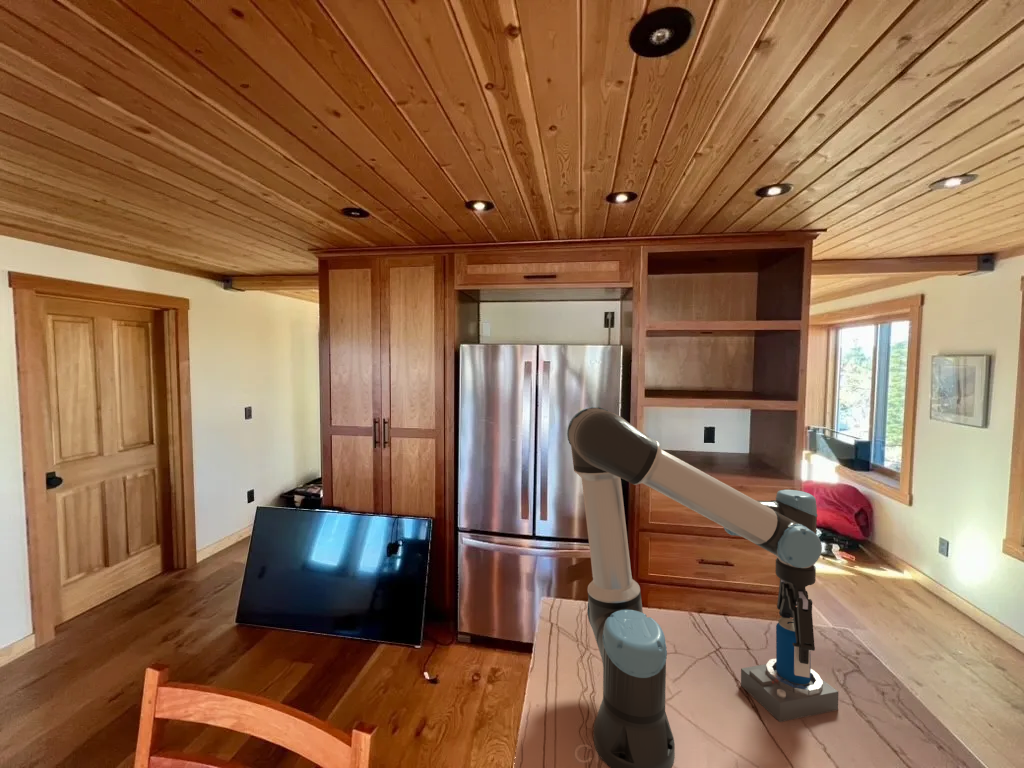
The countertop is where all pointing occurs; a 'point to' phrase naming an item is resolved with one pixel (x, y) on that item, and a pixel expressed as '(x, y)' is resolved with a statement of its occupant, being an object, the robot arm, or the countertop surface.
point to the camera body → (786, 696)
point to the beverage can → (787, 652)
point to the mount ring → (795, 688)
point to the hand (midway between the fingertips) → (793, 660)
